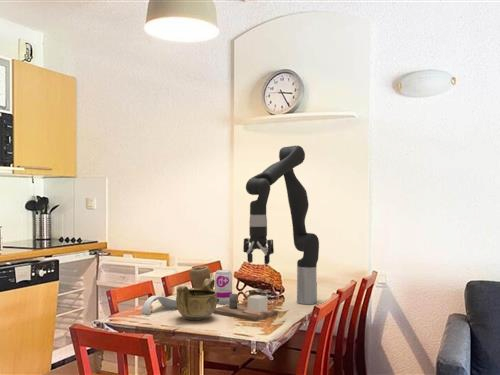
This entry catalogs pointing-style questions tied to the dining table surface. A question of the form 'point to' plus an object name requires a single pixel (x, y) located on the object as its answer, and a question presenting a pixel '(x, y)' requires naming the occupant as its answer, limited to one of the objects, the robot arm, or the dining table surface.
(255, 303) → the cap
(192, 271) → the stone cup
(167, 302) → the grey sandal
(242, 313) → the post board
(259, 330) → the dining table surface
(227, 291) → the supplement can
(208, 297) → the ceramic bowl
